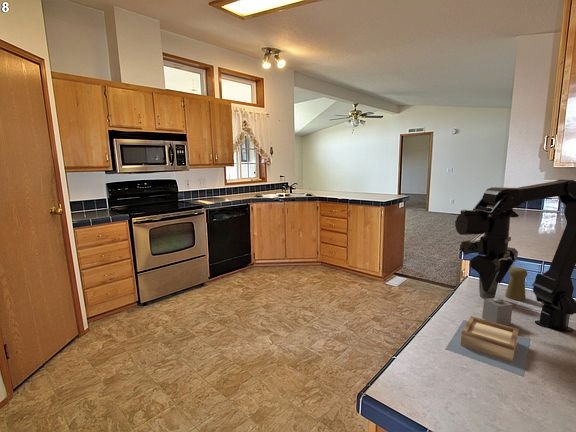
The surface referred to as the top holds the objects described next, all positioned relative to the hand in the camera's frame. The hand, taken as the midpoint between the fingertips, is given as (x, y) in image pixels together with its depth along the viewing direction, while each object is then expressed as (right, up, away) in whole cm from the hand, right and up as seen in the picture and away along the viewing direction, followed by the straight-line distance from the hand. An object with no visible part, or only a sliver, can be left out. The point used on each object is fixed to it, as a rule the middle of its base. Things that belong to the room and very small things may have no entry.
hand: (492, 286), depth 89 cm
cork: (+24, -9, +24) cm, 35 cm away
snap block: (+4, -12, +5) cm, 14 cm away
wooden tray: (-6, -13, -7) cm, 16 cm away
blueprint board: (-6, -14, -7) cm, 17 cm away
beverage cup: (+14, -9, +24) cm, 29 cm away
